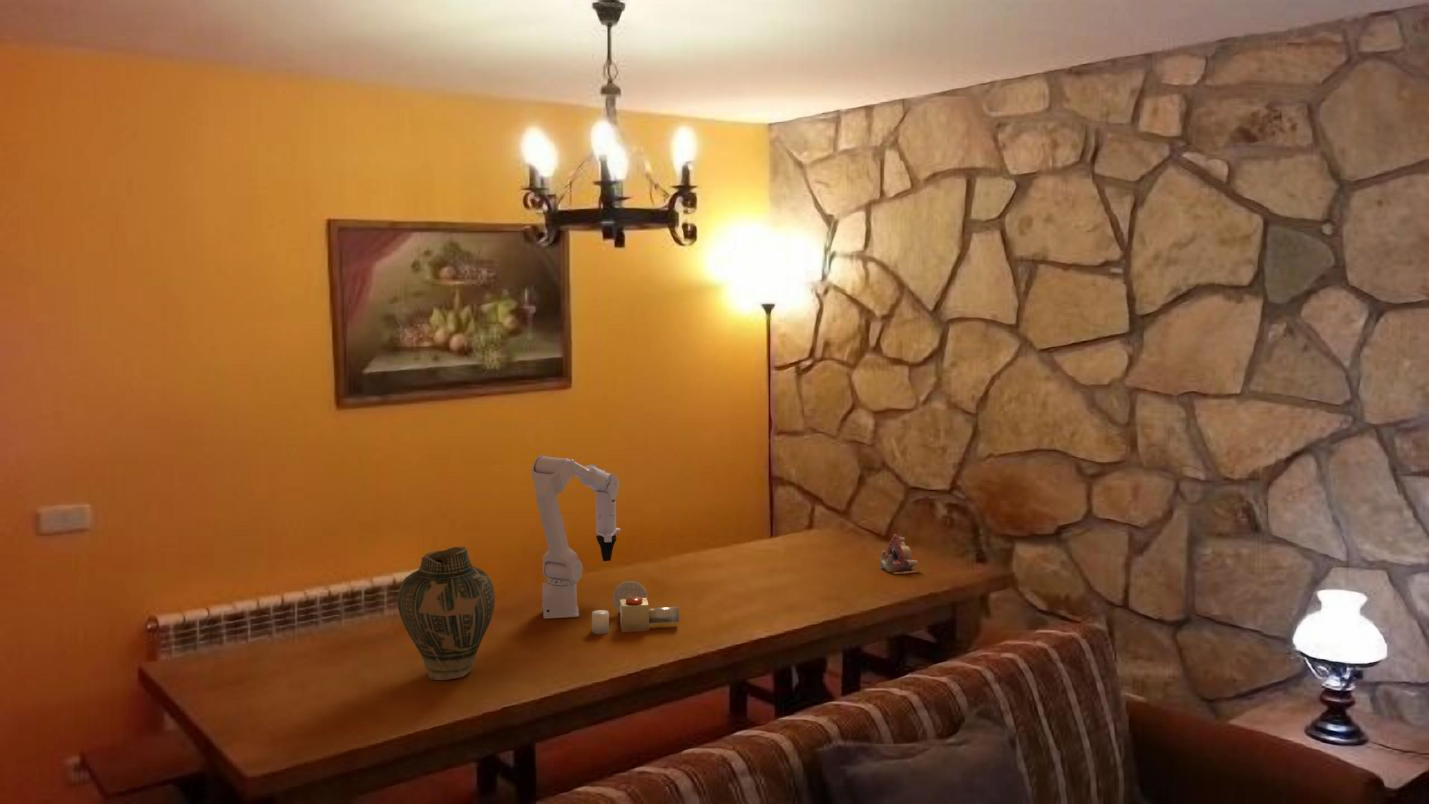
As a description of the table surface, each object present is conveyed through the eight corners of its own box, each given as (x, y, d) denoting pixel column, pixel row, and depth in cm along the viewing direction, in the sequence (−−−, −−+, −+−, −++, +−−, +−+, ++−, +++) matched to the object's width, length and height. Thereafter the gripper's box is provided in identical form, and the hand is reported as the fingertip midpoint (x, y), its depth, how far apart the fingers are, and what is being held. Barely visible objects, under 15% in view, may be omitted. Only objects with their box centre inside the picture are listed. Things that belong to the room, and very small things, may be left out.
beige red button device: (622, 632, 298) (621, 603, 297) (618, 618, 309) (618, 590, 308) (679, 629, 300) (679, 600, 299) (674, 615, 311) (673, 587, 310)
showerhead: (611, 613, 309) (614, 578, 314) (610, 622, 315) (614, 587, 320) (646, 616, 309) (649, 581, 314) (645, 624, 316) (647, 590, 321)
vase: (516, 672, 271) (513, 548, 266) (437, 699, 254) (432, 568, 250) (460, 650, 285) (456, 532, 281) (381, 675, 269) (376, 550, 265)
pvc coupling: (592, 634, 297) (592, 615, 296) (591, 628, 301) (591, 610, 300) (609, 633, 297) (609, 614, 297) (608, 628, 302) (608, 609, 301)
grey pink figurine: (867, 558, 358) (889, 526, 359) (892, 576, 362) (913, 545, 363) (883, 568, 348) (906, 535, 349) (909, 586, 351) (931, 554, 352)
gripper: (622, 519, 321) (622, 566, 323) (617, 508, 336) (618, 553, 337) (596, 520, 320) (597, 567, 322) (593, 508, 334) (594, 554, 336)
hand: (606, 560), depth 330 cm, fingers closed
